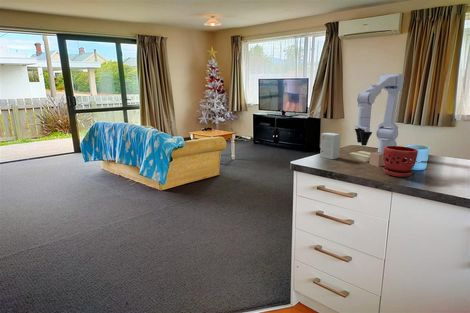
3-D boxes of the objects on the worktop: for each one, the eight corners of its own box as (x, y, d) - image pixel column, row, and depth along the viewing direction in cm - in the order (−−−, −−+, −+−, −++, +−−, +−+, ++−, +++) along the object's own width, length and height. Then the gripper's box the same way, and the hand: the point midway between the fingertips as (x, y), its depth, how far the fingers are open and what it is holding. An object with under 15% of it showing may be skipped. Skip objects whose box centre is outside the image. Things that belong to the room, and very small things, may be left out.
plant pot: (414, 180, 129) (418, 152, 126) (380, 175, 136) (383, 149, 133) (414, 172, 140) (417, 146, 138) (382, 168, 147) (385, 143, 144)
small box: (339, 157, 168) (341, 134, 165) (332, 159, 164) (334, 135, 161) (326, 155, 174) (328, 132, 171) (319, 156, 170) (321, 133, 167)
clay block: (375, 163, 157) (377, 151, 155) (384, 165, 153) (386, 153, 151) (369, 164, 154) (370, 152, 153) (378, 166, 150) (379, 154, 149)
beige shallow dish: (361, 156, 173) (362, 150, 173) (379, 160, 164) (379, 154, 163) (348, 158, 168) (348, 152, 168) (365, 162, 159) (365, 157, 158)
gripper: (352, 115, 159) (350, 141, 162) (359, 118, 145) (357, 146, 148) (366, 115, 158) (364, 141, 162) (375, 118, 144) (372, 147, 148)
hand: (361, 144), depth 155 cm, fingers open, 7 cm apart
